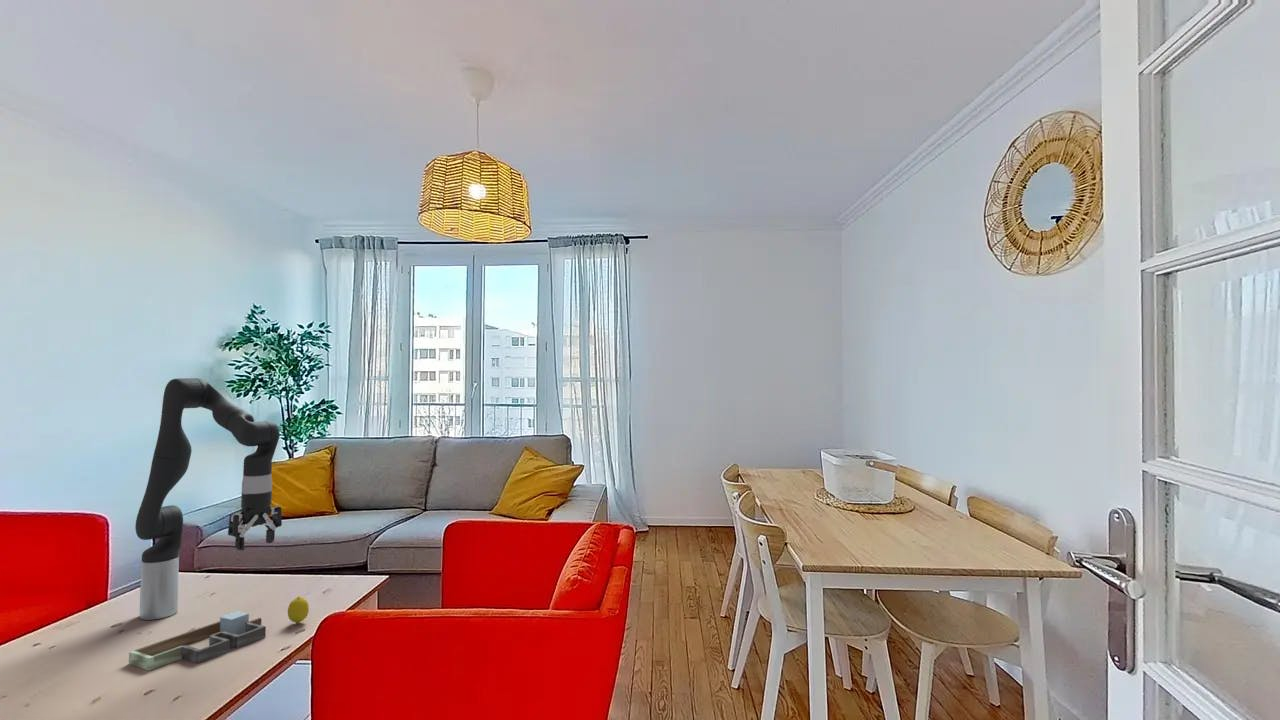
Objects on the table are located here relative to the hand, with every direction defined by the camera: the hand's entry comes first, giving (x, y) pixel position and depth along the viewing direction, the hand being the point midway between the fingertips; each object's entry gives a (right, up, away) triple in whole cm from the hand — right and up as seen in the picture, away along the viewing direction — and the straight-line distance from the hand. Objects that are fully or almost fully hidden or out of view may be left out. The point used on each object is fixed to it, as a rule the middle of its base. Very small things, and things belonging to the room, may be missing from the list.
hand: (255, 546), depth 179 cm
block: (-6, -25, 0) cm, 26 cm away
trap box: (-7, -24, -10) cm, 27 cm away
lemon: (+9, -25, +6) cm, 28 cm away
